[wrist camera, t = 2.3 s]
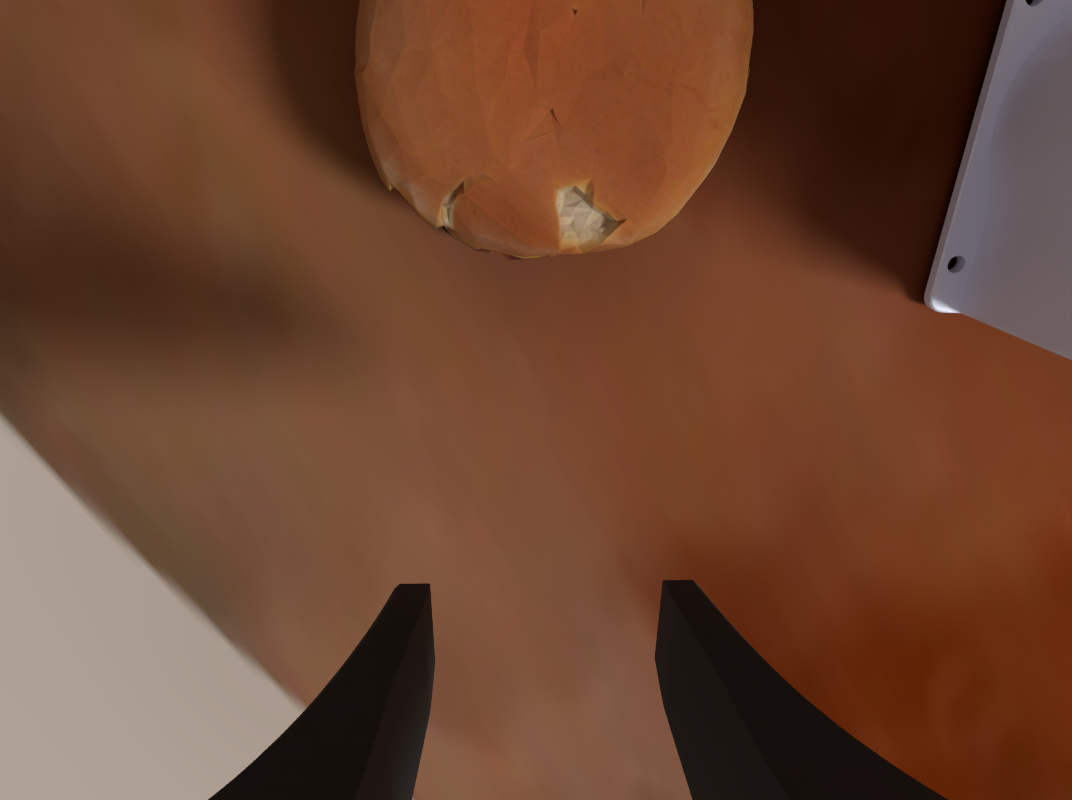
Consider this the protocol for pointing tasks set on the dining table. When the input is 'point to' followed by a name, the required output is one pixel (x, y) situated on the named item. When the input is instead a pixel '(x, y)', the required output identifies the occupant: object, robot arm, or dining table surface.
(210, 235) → the dining table surface
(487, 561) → the dining table surface
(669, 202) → the burger
